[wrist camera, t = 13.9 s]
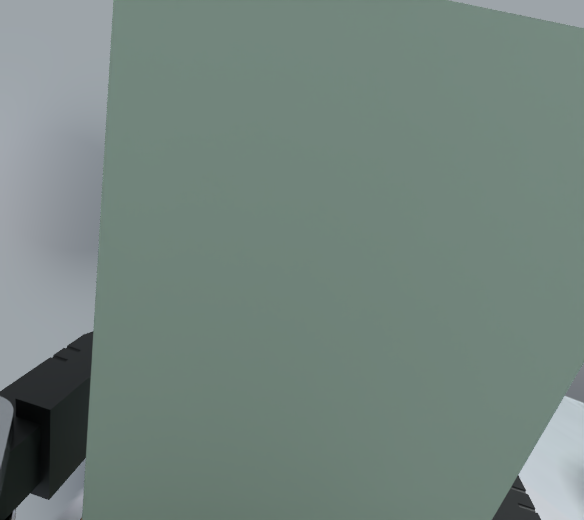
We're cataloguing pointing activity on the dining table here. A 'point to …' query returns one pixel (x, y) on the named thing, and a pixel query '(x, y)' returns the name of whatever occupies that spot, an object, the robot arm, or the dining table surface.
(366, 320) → the tall sage green panel
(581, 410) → the dining table surface
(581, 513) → the dining table surface
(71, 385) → the robot arm
